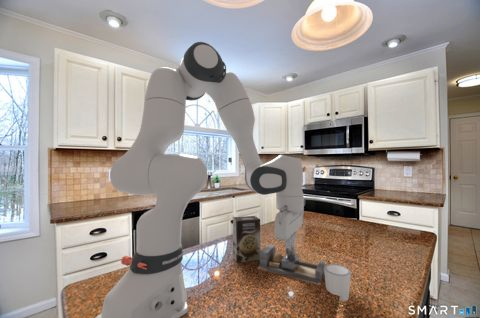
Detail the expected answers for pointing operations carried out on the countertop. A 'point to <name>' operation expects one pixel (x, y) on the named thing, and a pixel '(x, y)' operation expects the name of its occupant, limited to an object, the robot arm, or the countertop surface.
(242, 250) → the coffee box
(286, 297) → the countertop surface
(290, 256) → the ram
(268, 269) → the grey holder tray
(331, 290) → the shot glass
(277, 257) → the walnut
